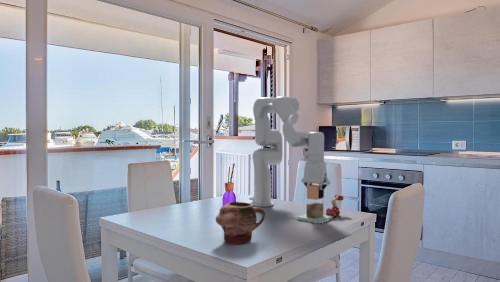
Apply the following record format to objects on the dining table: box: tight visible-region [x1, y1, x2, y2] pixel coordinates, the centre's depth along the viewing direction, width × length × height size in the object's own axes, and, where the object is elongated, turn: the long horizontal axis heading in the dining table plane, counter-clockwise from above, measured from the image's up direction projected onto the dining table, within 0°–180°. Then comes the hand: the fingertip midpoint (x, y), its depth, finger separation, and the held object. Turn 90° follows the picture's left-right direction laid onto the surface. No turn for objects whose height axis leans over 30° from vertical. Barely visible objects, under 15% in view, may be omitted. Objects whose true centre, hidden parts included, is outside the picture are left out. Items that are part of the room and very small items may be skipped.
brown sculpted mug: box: [215, 201, 266, 245], centre depth 139 cm, size 20×12×14 cm, turn 121°
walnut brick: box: [306, 201, 324, 218], centre depth 174 cm, size 5×7×6 cm
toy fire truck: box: [325, 194, 344, 218], centre depth 182 cm, size 3×14×10 cm, turn 143°
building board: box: [296, 213, 334, 224], centre depth 174 cm, size 12×12×2 cm
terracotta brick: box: [306, 183, 325, 201], centre depth 174 cm, size 5×7×6 cm
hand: (315, 197), depth 174 cm, fingers closed on terracotta brick, 5 cm apart
